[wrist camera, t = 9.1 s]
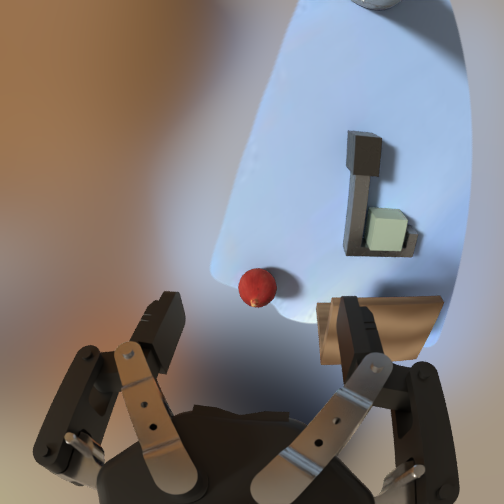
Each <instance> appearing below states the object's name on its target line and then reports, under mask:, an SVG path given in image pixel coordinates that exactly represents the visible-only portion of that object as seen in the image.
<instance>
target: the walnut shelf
mask: <svg viewBox="0 0 504 504" xmlns="http://www.w3.org/2000/svg"><path fill="white" fill-rule="evenodd" d="M340 299H341V298H332V300H331V303H317V307H316V312H317V323H318V334H319V347H320V360H321V365H337V364H341V358H340V351H339V344H338V337H337V330H336V322H337V315H338V310H339V305H340ZM358 302H359V306H367V307H368V309H369V310H370V311H371V312H372V313H373V316H374V319H375V323H376V326H377V330H378V333H379V337H380V340H381V344H382V347H383V351H384V354H385V355H386V356H388V357H389V358H390V359H391V361H403V360H413V359H416V358H417V357H418V355H419V353H420V351H421V349H422V348H423V346H424V344H425V342H426V340H427V338H428V336H429V334H430V332H431V330H432V328H433V326H434V324H435V322H436V320H437V318H438V315H439V313H440V311H441V309H442V306H443V304H444V301H443V300H442V298H441V296H417V297H367V298H358Z"/></svg>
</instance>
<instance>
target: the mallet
mask: <svg viewBox="0 0 504 504" xmlns="http://www.w3.org/2000/svg"><path fill="white" fill-rule="evenodd" d="M381 146H382V138H381V137H379V136H377V135H375V134H373V133H369V132H359V131H348V139H347V159H346V167H347V168H348V169H349V170H350V185H349V196H348V206H347V215H346V224H345V232H344V240H343V248H344V251H345V254H346V256H374V257H412V256H413V253H414V249H415V245H416V241H417V237H418V233H417V232H416V231H415V230H414V228H413V227H412V226H411V225H407V227H406V232H405V236H404V241H403V245H402V249H401V251H379V250H370V249H369V247H368V245H367V242H366V240H365V238H362V235H363V229H364V222H365V215H366V208H367V200H368V192H369V183H370V176H376V177H379V168H380V158H381Z"/></svg>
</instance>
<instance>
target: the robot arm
mask: <svg viewBox="0 0 504 504" xmlns="http://www.w3.org/2000/svg"><path fill="white" fill-rule="evenodd" d="M351 1H353V2H355V3H356V4H358V5H360V6H363V7H365V8H369V9H373V10H385V9H389V8H391V7H393V6H394V5H396V4H397V3H399V2H400V1H402V0H351ZM184 325H185V312H184V308H183V304H182V300H181V297H180V293H179V292H170V291H164V292H163V294H162V295H161V297H160V299H159V301H158V300H155V301H153V302H152V303H151V304H150V305H149V306H148V307H147V309H146V311H145V312H144V315H143V316H142V318H141V321H140V322H139V324H138V325H137V328H136V329H135V331H134V333H133V335H132V337H131V339H130V341H129V342H125V343H122V344H121V345H119V346H118V347H117V348H116V350H115V351H112V352H101V353H100V351H99V349H98V348H97V347H95V346H92V345H88V346H85V347H83V348H81V349H80V350H79V351H78V352H77V354H76V356H75V358H74V360H73V362H72V364H71V365H70V367H69V369H68V372H67V373H66V375H65V377H64V379H63V381H62V384H61V385H60V387H59V390H58V391H57V394H56V396H55V398H54V400H53V402H52V404H51V406H50V409H49V411H48V413H47V415H46V418H45V420H44V422H43V425H42V427H41V429H40V432H39V434H38V437H37V439H36V442H35V444H34V447H33V456H34V458H35V460H36V462H38V463H39V464H40V465H42V466H43V467H45V468H46V469H48V470H49V471H50V472H52V473H53V474H55V475H57V476H59V477H60V478H62V479H64V480H66V481H69V482H71V483H73V484H75V485H77V486H84V485H85V486H87V487H90V488H92V489H95V490H97V491H98V496H99V502H100V504H453V503H454V502H455V501H456V499H457V497H458V495H459V488H460V487H459V478H458V469H457V461H456V454H455V448H454V442H453V436H452V430H451V425H450V420H449V416H448V411H447V407H446V403H445V398H444V394H443V391H442V387H441V383H440V380H439V376H438V372H437V370H436V368H435V367H434V366H433V365H432V364H430V363H428V362H423V361H421V362H417V363H415V364H414V365H413V366H412V367H411V368H410V367H404V366H399V365H396V364H394V363H392V361H391V359H390V358H389V357H388V356H386V355H385V354H384V351H383V347H382V344H381V340H380V337H379V333H378V330H377V326H376V323H375V319H374V316H373V313H372V312H371V311H370V310H369V309H368V307H367V306H359V302H358V298H357V296H342V297H341V299H340V305H339V310H338V315H337V322H336V330H337V337H338V344H339V351H340V358H341V366H342V373H343V382H344V384H345V385H344V386H343V388H342V389H338V390H337V392H336V393H335V394H334V395H333V396H332V397H331V399H330V400H329V401H328V403H327V404H326V405H325V406H324V408H322V410H321V411H320V412H319V413H318V414H317V416H316V417H315V418H314V419H313V420H312V421H311V422H310V424H309V425H308V426H307V425H306V424H304V423H302V422H300V421H298V420H295V419H291V418H289V412H271V411H264V412H258V413H251V414H245V415H238V414H234V413H231V412H228V411H225V410H222V409H219V408H217V407H209V406H201V405H194V407H193V411H188V412H183V413H179V414H177V415H175V416H174V414H173V413H172V411H171V409H170V407H169V405H168V403H167V401H166V398H165V396H164V394H163V392H162V390H161V388H160V385H159V383H158V381H157V376H158V373H160V374H167V371H168V368H169V365H170V363H171V360H172V357H173V355H174V352H175V349H176V346H177V344H178V341H179V339H180V336H181V333H182V331H183V328H184ZM119 392H122V395H123V398H124V401H125V404H126V407H127V410H128V413H129V416H130V419H131V421H132V424H133V427H134V429H135V432H136V435H137V437H138V440H139V441H138V442H136V443H134V444H133V445H131V446H130V447H129V448H127V449H126V450H124V451H123V452H121V453H120V454H118V455H116V456H115V457H114V458H112V459H110V460H109V461H107V462H106V463H105V459H104V456H105V455H104V450H103V448H102V447H101V443H102V439H103V437H104V433H105V430H106V428H107V425H108V422H109V419H110V416H111V413H112V410H113V407H114V404H115V402H116V399H117V396H118V393H119ZM372 406H376V407H382V408H386V409H391V417H392V426H393V435H394V436H393V437H394V448H395V464H396V468H395V469H394V470H392V471H391V472H390V473H389V474H388V475H387V476H386V477H385V479H384V483H383V488H382V490H381V492H380V493H379V495H378V496H376V497H373V495H372V493H371V491H370V490H369V489H368V488H367V487H366V486H365V485H364V484H363V483H362V482H361V481H360V480H359V479H358V478H357V477H356V476H355V475H354V474H353V473H352V472H351V471H350V470H349V468H348V467H347V466H346V465H345V464H344V463H343V462H342V461H341V460H340V459H339V458H338V457H337V456H338V454H339V453H340V452H341V451H342V449H343V448H344V447H345V445H346V444H347V443H348V441H349V440H350V438H351V437H352V436H353V434H354V433H355V431H356V430H357V428H358V427H359V425H360V424H361V423H362V421H363V420H364V418H365V417H366V415H367V414H368V412H369V411H370V409H371V408H372ZM104 463H105V464H104Z"/></svg>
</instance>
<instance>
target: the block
mask: <svg viewBox="0 0 504 504" xmlns="http://www.w3.org/2000/svg"><path fill="white" fill-rule="evenodd" d="M407 223H408V220H407V218H406V217H405V216H404V215H403V214H402V212H401V211H400V210H399V209H389V208H374V207H369V209H368V216H367V222H366V229H365V235H364V238H365V240H366V242H367V245H368V247H369V249H370V250H379V251H401V249H402V245H403V241H404V236H405V232H406V227H407Z"/></svg>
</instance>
